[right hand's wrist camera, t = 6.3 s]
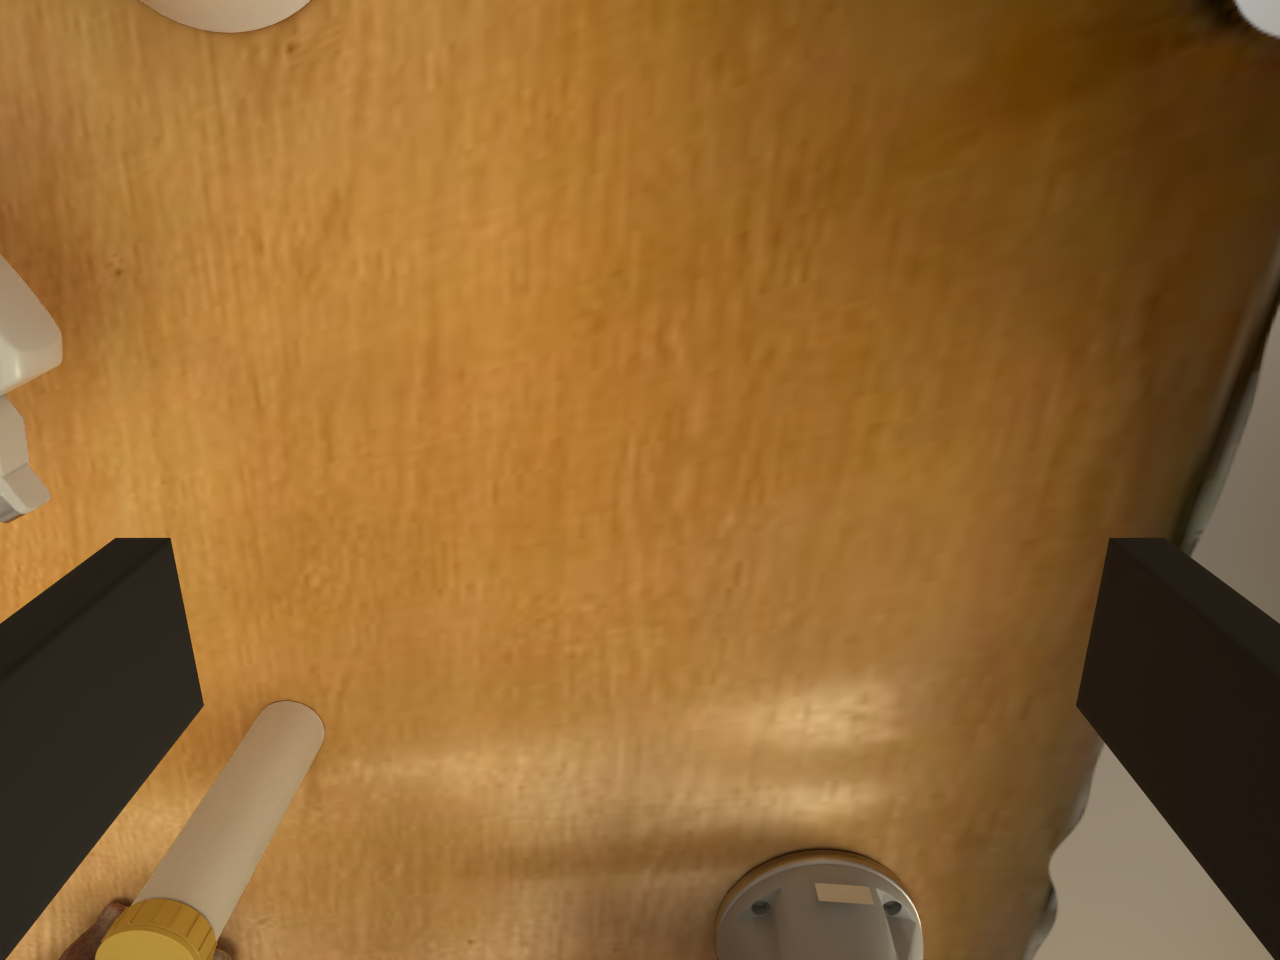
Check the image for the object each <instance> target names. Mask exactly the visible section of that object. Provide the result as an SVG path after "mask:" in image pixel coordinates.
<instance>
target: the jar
mask: <svg viewBox="0 0 1280 960" xmlns="http://www.w3.org/2000/svg"><path fill="white" fill-rule="evenodd" d="M324 736H325V731H324V726H323V723H322V721H321V719H320V717H319V716H318V715H317V714H316V713H315V712H314V711H313V710H312V709H310V708H309V707H307V706H305V705H303V704H301V703H298V702H293V701H280V702H275V703H273V704H271V705H269V706H267V707H266V708H264V709H263V710H262V711H261V713H260V714H259V716H258V717H257V719H256V720H255V722H254V723H253V725H252V726H251V728H250V729H249V730H248V732H247V733H246V735H245V736H244V738H243V739H242V741H241V742H240V744H239V745H238V747H237V748H236V750H235V751H234V753H233V754H232V756H231V757H230V759H229V760H228V762H227V763H226V765H225V766H224V768H223V769H222V771H221V772H220V774H219V775H218V777H217V778H216V780H215V781H214V783H213V784H212V786H211V787H210V789H209V790H208V792H207V793H206V795H205V796H204V797H203V799H202V800H201V802H200V803H199V805H198V806H197V808H196V809H195V811H194V812H193V814H192V815H191V817H190V818H189V820H188V821H187V823H186V824H185V826H184V827H183V829H182V830H181V832H180V833H179V835H178V836H177V838H176V839H175V841H174V842H173V844H172V845H171V847H170V848H169V850H168V851H167V853H166V854H165V856H164V857H163V859H162V860H161V862H160V863H159V865H158V866H157V867H156V869H155V870H154V872H153V873H152V875H151V876H150V878H149V879H148V881H147V882H146V884H145V885H144V887H143V888H142V890H141V891H140V893H139V894H138V896H137V897H136V899H135V900H134V902H133V903H132V905H133V904H135V903H137V902H140V901H142V900H148V899H168V900H173V901H177V902H180V903H183V904H185V905H188V906H189V907H191V908H193V909H194V910H196V911H197V912H199V913H200V914H201V915H202V916H203V917H204V918H205V919H206V920H207V921H208V922H209V924H210V925H211V927H212V928H213V931H214V933H215V938H216V942H217V940H218V938H219V936H220V935H221V933H222V931H223V929H224V927H225V925H226V923H227V921H228V920H229V918H230V916H231V914H232V912H233V910H234V908H235V906H236V905H237V903H238V901H239V899H240V897H241V895H242V893H243V891H244V890H245V888H246V886H247V884H248V882H249V880H250V878H251V876H252V875H253V873H254V871H255V869H256V867H257V865H258V863H259V861H260V860H261V858H262V856H263V854H264V852H265V850H266V848H267V846H268V845H269V843H270V841H271V839H272V837H273V835H274V833H275V831H276V830H277V828H278V826H279V824H280V822H281V820H282V818H283V816H284V814H285V813H286V811H287V809H288V807H289V805H290V803H291V801H292V799H293V798H294V796H295V794H296V792H297V790H298V788H299V786H300V784H301V783H302V781H303V779H304V777H305V775H306V773H307V771H308V769H309V768H310V766H311V764H312V762H313V760H314V758H315V756H316V754H317V753H318V751H319V749H320V747H321V745H322V743H323V741H324Z"/></svg>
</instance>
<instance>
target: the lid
mask: <svg viewBox="0 0 1280 960" xmlns="http://www.w3.org/2000/svg"><path fill="white" fill-rule="evenodd" d="M101 942H102V943H101V945H100V946H99V948H98V950H97V952H96V956H95V960H213V958H214V956H213V954H214V952H215V948H216V945H217V943H216V938H215V933H214V931H213V928H212V927H211V925H210V924H209V922H208V921H207V920H206V919H205V918H204V917H203V916H202V915H201V914H200V913H199V912H197V911H196V910H194V909H193V908H191V907H189V906H188V905H185V904H183V903H180V902H177V901H173V900H168V899H148V900H142V901H140V902H137V903H135V904H133V905H131V906H130V907H128V906H127V907H126V909H125V910H124V912H123V913H122V914H121V915H120V917H119V918H116V920H115V921H114V923H113V924H112V926H111V927H110V929H109V930H108V932H107V933H106V935H105V936H104V938H103V939H102V941H101Z"/></svg>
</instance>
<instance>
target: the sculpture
mask: <svg viewBox="0 0 1280 960" xmlns="http://www.w3.org/2000/svg"><path fill="white" fill-rule="evenodd" d="M126 907H127V906H125V905H122V904H119V903H110V904H109V905H108V906H106V907H105V908H104V909H103V910H102V912H101V914H100V916H99V918H98V920H97V922H96V924H95V925H94V926H92V927H91V928H90V929H89V930H87V931H86V932H85V933H83V934H82V935H81V936H80V937H79V938H78V939H77V940H76V941H75V942H73V943H72V944H71V945H70V947H69V948H68V949H67V950H66V951H65V952H64V953H63V954H62V956H61V957H60V958H59V960H95V956H96V952H97V950H98V948H99V946H100V945H101V943H102V942H101V941H102V939H103V938H104V936H105V935H106V933H107V932H108V930H109V929H110V927H111V926H112V924H113V923H114V921H115V920H116V918H119V917H120V915H121V914H122V913H123V912H124V910H125V909H126ZM213 956H214V958H213V960H232V958H231V956H230V955H229V954H227V953H226V952H225V951H224V950H221V949H216V948H215V952H214V954H213Z"/></svg>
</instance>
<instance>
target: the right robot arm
mask: <svg viewBox="0 0 1280 960" xmlns="http://www.w3.org/2000/svg"><path fill="white" fill-rule="evenodd" d="M203 706H204V704H203V699H202V694H201V689H200V684H199V679H198V674H197V669H196V664H195V659H194V654H193V649H192V644H191V639H190V634H189V629H188V624H187V619H186V614H185V609H184V604H183V599H182V594H181V589H180V584H179V579H178V574H177V569H176V564H175V559H174V554H173V549H172V544H171V539H170V538H115V539H114V540H112V541H111V542H110V543H108V544H107V545H106V546H104V547H103V548H101V549H100V550H99V551H97V552H96V553H95V554H93V555H92V556H91V557H89V558H88V559H87V560H85V561H84V562H83V563H81V564H80V565H79V566H77V567H76V568H75V569H73V570H72V571H71V572H69V573H68V574H67V575H65V576H64V577H63V578H61V579H60V580H59V581H57V582H56V583H55V584H53V585H52V586H50V587H49V588H48V589H46V590H45V591H44V592H42V593H41V594H40V595H38V596H37V597H36V598H34V599H33V600H32V601H30V602H29V603H28V604H26V605H25V606H24V607H22V608H21V609H20V610H18V611H17V612H16V613H14V614H13V615H12V616H10V617H9V618H8V619H6V620H5V621H3V622H2V623H1V624H0V960H5V959H6V958H7V957H8V956H9V954H10V953H11V952H12V951H13V949H14V948H15V947H16V945H17V944H18V943H19V942H20V940H21V939H22V938H23V936H24V935H25V934H26V933H27V931H28V930H29V929H30V928H31V926H32V925H33V924H34V922H35V921H36V920H37V919H38V917H39V916H40V915H41V913H42V912H43V911H44V910H45V908H46V907H47V906H48V904H49V903H50V902H51V901H52V899H53V898H54V897H55V896H56V894H57V893H58V892H59V890H60V889H61V888H62V887H63V885H64V884H65V883H66V881H67V880H68V879H69V878H70V876H71V875H72V874H73V872H74V871H75V870H76V869H77V867H78V866H79V865H80V864H81V862H82V861H83V860H84V858H85V857H86V856H87V855H88V853H89V852H90V851H91V849H92V848H93V847H94V846H95V844H96V843H97V842H98V840H99V839H100V838H101V837H102V835H103V834H104V833H105V832H106V830H107V829H108V828H109V826H110V825H111V824H112V823H113V821H114V820H115V819H116V817H117V816H118V815H119V814H120V812H121V811H122V810H123V808H124V807H125V806H126V805H127V803H128V802H129V801H130V800H131V798H132V797H133V796H134V794H135V793H136V792H137V791H138V789H139V788H140V787H141V785H142V784H143V783H144V782H145V780H146V779H147V778H148V776H149V775H150V774H151V773H152V771H153V770H154V769H155V768H156V766H157V765H158V764H159V762H160V761H161V760H162V759H163V757H164V756H165V755H166V753H167V752H168V751H169V750H170V748H171V747H172V746H173V744H174V743H175V742H176V741H177V739H178V738H179V737H180V736H181V734H182V733H183V732H184V730H185V729H186V728H187V727H188V725H189V724H190V723H191V721H192V720H193V719H194V718H195V716H196V715H197V714H198V713H199V711H200V710H201V709H202V707H203ZM1076 706H1077V707H1078V709H1079V710H1080V711H1081V713H1082V714H1083V715H1084V716H1085V718H1086V719H1087V720H1088V721H1089V723H1090V724H1091V725H1092V727H1093V728H1094V729H1095V730H1096V732H1097V733H1098V734H1099V736H1100V737H1101V738H1102V739H1103V741H1104V742H1105V743H1106V744H1107V746H1108V747H1109V748H1110V750H1111V751H1112V752H1113V753H1114V755H1115V756H1116V757H1117V759H1118V760H1119V761H1120V762H1121V764H1122V765H1123V766H1124V767H1125V769H1126V770H1127V771H1128V773H1129V774H1130V775H1131V776H1132V778H1133V779H1134V780H1135V782H1136V783H1137V784H1138V785H1139V787H1140V788H1141V789H1142V791H1143V792H1144V793H1145V794H1146V796H1147V797H1148V798H1149V799H1150V801H1151V802H1152V803H1153V805H1154V806H1155V807H1156V808H1157V810H1158V811H1159V812H1160V814H1161V815H1162V816H1163V817H1164V819H1165V820H1166V821H1167V823H1168V824H1169V825H1170V826H1171V828H1172V829H1173V830H1174V832H1175V833H1176V834H1177V835H1178V837H1179V838H1180V839H1181V840H1182V842H1183V843H1184V844H1185V846H1186V847H1187V848H1188V849H1189V851H1190V852H1191V853H1192V855H1193V856H1194V857H1195V858H1196V860H1197V861H1198V862H1199V863H1200V865H1201V866H1202V867H1203V869H1204V870H1205V871H1206V872H1207V874H1208V875H1209V876H1210V878H1211V879H1212V880H1213V881H1214V883H1215V884H1216V885H1217V887H1218V888H1219V889H1220V890H1221V892H1222V893H1223V894H1224V895H1225V897H1226V898H1227V899H1228V901H1229V902H1230V903H1231V904H1232V906H1233V907H1234V908H1235V910H1236V911H1237V912H1238V913H1239V915H1240V916H1241V917H1242V919H1243V920H1244V921H1245V922H1246V924H1247V925H1248V926H1249V928H1250V929H1251V930H1252V931H1253V933H1254V934H1255V935H1256V936H1257V938H1258V939H1259V940H1260V942H1261V943H1262V944H1263V945H1264V947H1265V948H1266V949H1267V951H1268V952H1269V953H1270V954H1271V956H1272V957H1273V958H1274V960H1280V624H1279V623H1278V622H1277V621H1275V620H1274V619H1272V618H1271V617H1270V616H1268V615H1267V614H1266V613H1264V612H1263V611H1262V610H1260V609H1259V608H1258V607H1256V606H1255V605H1254V604H1252V603H1251V602H1250V601H1248V600H1247V599H1246V598H1244V597H1243V596H1242V595H1240V594H1239V593H1238V592H1236V591H1235V590H1234V589H1232V588H1231V587H1230V586H1228V585H1227V584H1225V583H1224V582H1223V581H1221V580H1220V579H1219V578H1217V577H1216V576H1215V575H1213V574H1212V573H1211V572H1209V571H1208V570H1207V569H1205V568H1204V567H1203V566H1201V565H1200V564H1199V563H1197V562H1196V561H1195V560H1193V559H1192V558H1191V557H1189V556H1188V555H1187V554H1185V553H1184V552H1183V551H1181V550H1180V549H1178V548H1177V547H1176V546H1174V545H1173V544H1172V543H1170V542H1169V541H1168V540H1166V539H1165V538H1110V539H1109V544H1108V549H1107V554H1106V559H1105V564H1104V569H1103V574H1102V579H1101V584H1100V589H1099V594H1098V599H1097V604H1096V609H1095V614H1094V619H1093V624H1092V629H1091V634H1090V639H1089V644H1088V649H1087V654H1086V659H1085V664H1084V669H1083V674H1082V679H1081V684H1080V689H1079V694H1078V699H1077V704H1076ZM715 941H716V951H717V958H718V960H923V936H922V930H921V924H920V920H919V917H918V914H917V911H916V908H915V905H914V903H913V900H912V898H911V896H910V894H909V892H908V890H907V889H906V887H905V886H904V884H903V883H902V882H901V881H900V880H899V879H898V878H897V877H896V876H895V875H894V874H893V873H892V872H891V871H889V870H888V869H887V868H885V867H883V866H882V865H880V864H879V863H877V862H875V861H873V860H870V859H868V858H865V857H863V856H860V855H856V854H853V853H848V852H843V851H834V850H811V851H802V852H797V853H792V854H788V855H785V856H781V857H779V858H776V859H773V860H771V861H769V862H767V863H764V864H762V865H761V866H759V867H757V868H755V869H754V870H752V871H751V872H750V873H748V874H747V875H746V876H744V877H743V878H742V879H741V880H740V881H739V882H738V883H737V884H736V885H735V886H734V887H733V888H732V889H731V890H730V892H729V893H728V894H727V896H726V897H725V899H724V901H723V903H722V905H721V907H720V909H719V912H718V915H717V919H716V924H715Z"/></svg>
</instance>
